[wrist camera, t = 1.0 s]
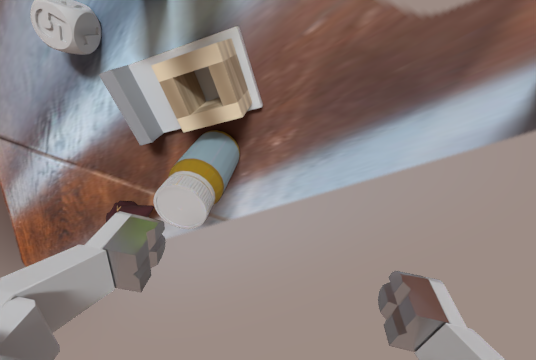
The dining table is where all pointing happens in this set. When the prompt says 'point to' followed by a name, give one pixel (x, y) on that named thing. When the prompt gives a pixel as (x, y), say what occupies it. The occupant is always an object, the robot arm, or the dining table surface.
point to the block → (190, 93)
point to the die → (66, 25)
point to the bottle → (197, 180)
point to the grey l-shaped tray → (152, 95)
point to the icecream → (130, 209)
